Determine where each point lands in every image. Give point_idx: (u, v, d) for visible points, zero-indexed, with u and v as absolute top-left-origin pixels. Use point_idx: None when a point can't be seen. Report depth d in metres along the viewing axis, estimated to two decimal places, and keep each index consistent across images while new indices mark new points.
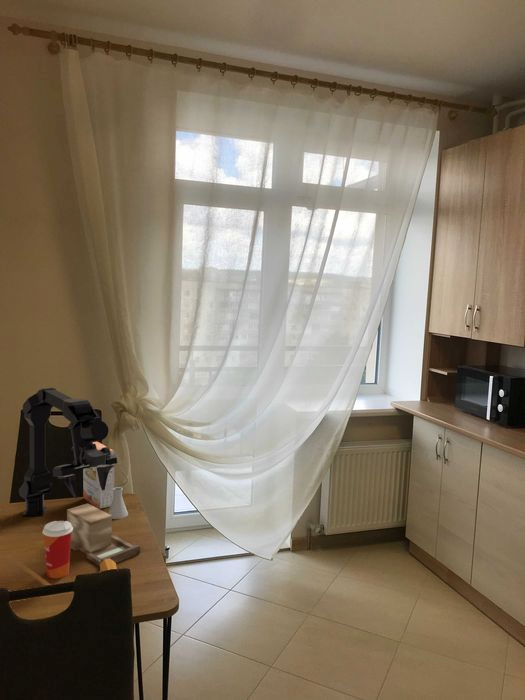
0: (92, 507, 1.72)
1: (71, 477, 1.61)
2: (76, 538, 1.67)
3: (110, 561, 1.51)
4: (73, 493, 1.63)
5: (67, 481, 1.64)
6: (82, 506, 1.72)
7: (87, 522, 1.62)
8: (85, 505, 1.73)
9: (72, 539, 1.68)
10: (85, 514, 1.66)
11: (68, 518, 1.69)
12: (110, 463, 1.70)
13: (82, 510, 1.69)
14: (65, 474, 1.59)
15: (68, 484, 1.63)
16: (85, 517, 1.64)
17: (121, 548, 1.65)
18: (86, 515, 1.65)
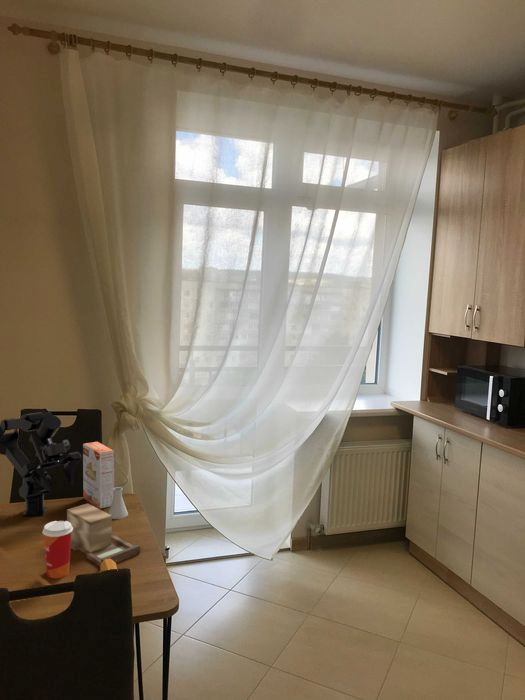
0: (92, 507, 1.72)
1: (39, 469, 1.74)
2: (76, 538, 1.67)
3: (110, 561, 1.51)
4: (46, 486, 1.75)
5: (38, 478, 1.76)
6: (82, 506, 1.72)
7: (87, 522, 1.62)
8: (85, 505, 1.73)
9: (72, 539, 1.68)
10: (85, 514, 1.66)
11: (68, 518, 1.69)
12: (74, 457, 1.84)
13: (82, 510, 1.69)
14: (30, 467, 1.73)
15: (40, 481, 1.76)
16: (85, 517, 1.64)
17: (121, 548, 1.65)
18: (86, 515, 1.65)
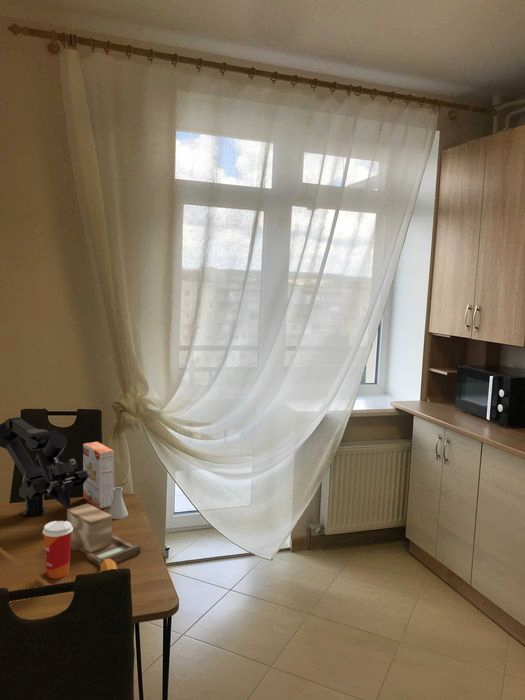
0: (92, 507, 1.72)
1: (57, 486, 1.75)
2: (76, 538, 1.67)
3: (110, 561, 1.51)
4: (64, 503, 1.75)
5: (56, 495, 1.77)
6: (82, 506, 1.72)
7: (87, 522, 1.62)
8: (85, 505, 1.73)
9: (72, 539, 1.68)
10: (85, 514, 1.66)
11: (68, 518, 1.69)
12: (81, 476, 1.82)
13: (82, 510, 1.69)
14: (37, 487, 1.70)
15: (58, 497, 1.76)
16: (85, 517, 1.64)
17: (121, 548, 1.65)
18: (86, 515, 1.65)
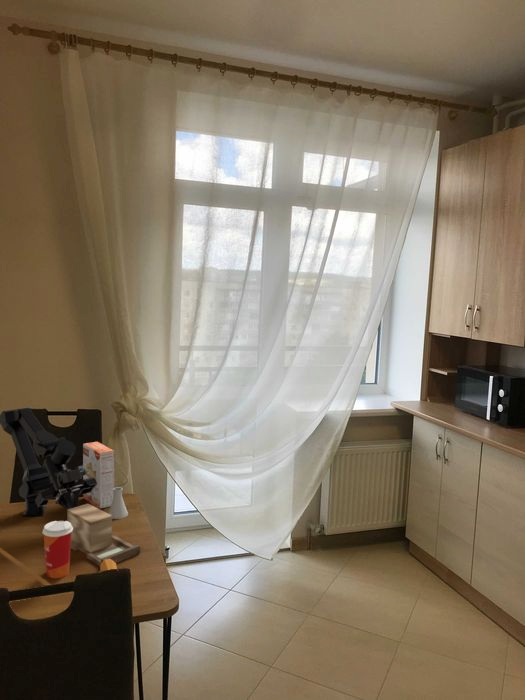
0: (92, 507, 1.71)
1: (66, 494, 1.72)
2: (76, 538, 1.67)
3: (110, 561, 1.51)
4: None
5: (65, 503, 1.74)
6: (82, 506, 1.72)
7: (87, 522, 1.62)
8: (85, 505, 1.73)
9: (72, 539, 1.68)
10: (85, 514, 1.66)
11: (68, 518, 1.69)
12: (89, 483, 1.78)
13: (82, 510, 1.69)
14: (45, 495, 1.67)
15: (66, 505, 1.73)
16: (85, 517, 1.64)
17: (121, 548, 1.65)
18: (86, 515, 1.65)
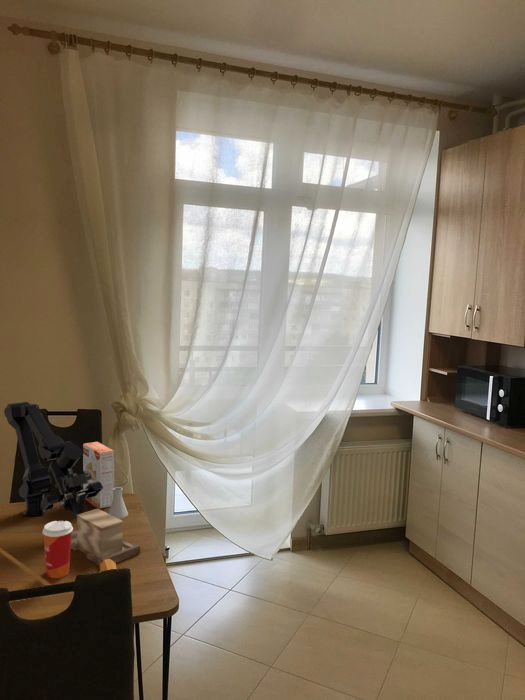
0: (102, 512, 1.68)
1: (71, 499, 1.70)
2: (86, 544, 1.63)
3: (110, 561, 1.51)
4: None
5: (70, 508, 1.72)
6: (92, 511, 1.68)
7: (97, 527, 1.59)
8: (95, 510, 1.69)
9: (82, 545, 1.65)
10: (95, 519, 1.63)
11: (78, 523, 1.65)
12: (95, 488, 1.76)
13: (92, 515, 1.65)
14: (51, 500, 1.65)
15: (72, 510, 1.71)
16: (96, 523, 1.60)
17: None
18: (97, 521, 1.62)
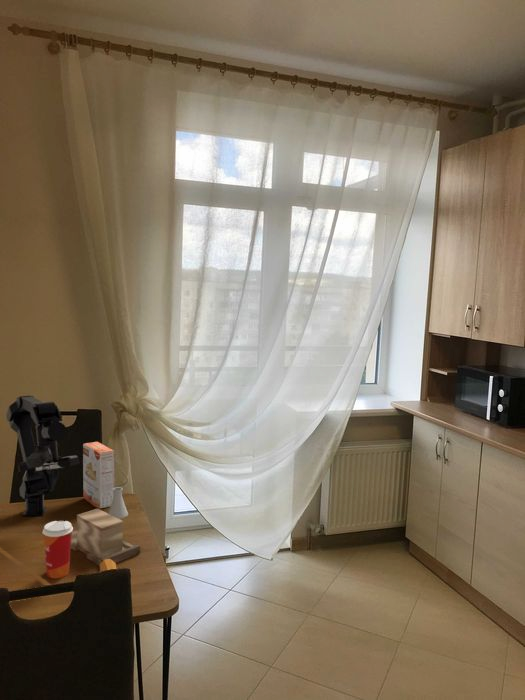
0: (102, 512, 1.68)
1: (38, 472, 1.76)
2: (86, 544, 1.63)
3: (110, 561, 1.51)
4: None
5: None
6: (92, 511, 1.68)
7: (97, 527, 1.59)
8: (95, 510, 1.69)
9: (82, 545, 1.65)
10: (95, 519, 1.63)
11: (78, 523, 1.65)
12: (61, 465, 1.73)
13: (92, 515, 1.65)
14: (19, 470, 1.77)
15: None
16: (96, 523, 1.60)
17: None
18: (97, 521, 1.62)
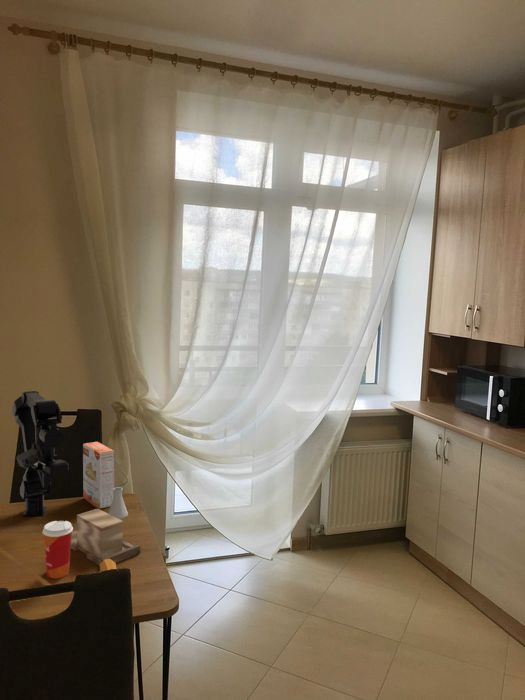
0: (102, 512, 1.68)
1: (33, 468, 1.77)
2: (86, 544, 1.63)
3: (110, 561, 1.51)
4: None
5: None
6: (92, 511, 1.68)
7: (97, 527, 1.59)
8: (95, 510, 1.69)
9: (82, 545, 1.65)
10: (95, 519, 1.63)
11: (78, 523, 1.65)
12: (46, 470, 1.71)
13: (92, 515, 1.65)
14: None
15: None
16: (96, 523, 1.60)
17: None
18: (97, 521, 1.62)
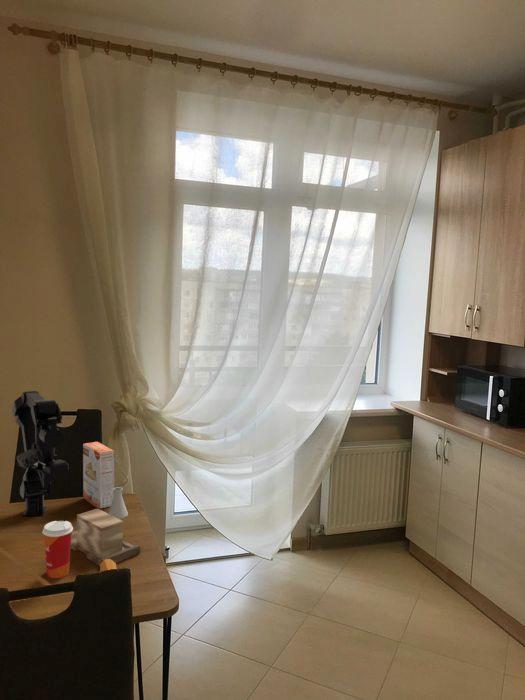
0: (102, 512, 1.68)
1: (33, 468, 1.77)
2: (86, 544, 1.63)
3: (110, 561, 1.51)
4: None
5: None
6: (92, 511, 1.68)
7: (97, 527, 1.59)
8: (95, 510, 1.69)
9: (82, 545, 1.65)
10: (95, 519, 1.63)
11: (78, 523, 1.65)
12: (46, 470, 1.71)
13: (92, 515, 1.65)
14: None
15: None
16: (96, 523, 1.60)
17: None
18: (97, 521, 1.62)
